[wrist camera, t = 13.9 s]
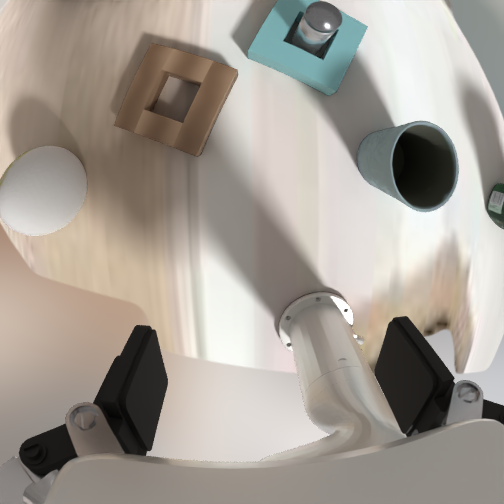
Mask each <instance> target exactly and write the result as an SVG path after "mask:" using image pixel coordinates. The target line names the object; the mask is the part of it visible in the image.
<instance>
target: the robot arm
mask: <svg viewBox="0 0 504 504" xmlns="http://www.w3.org/2000/svg"><path fill="white" fill-rule="evenodd" d="M317 297H318V298H317ZM352 326H353V313H352V311H351V308H350V307H349V305H348V304H347V302H346V301H345V300H344V299H342V298H341V297H340V296H338V295H335V294H333V293H327V292H317V293H311V294H308V295H305V296H303V297H301V298H299V299H297V300H296V301H294V302H293V303H292V304H290V306H289V307H288V308H287V309H286V310H285V311H284V313H283V314H282V317H281V319H280V322H279V335H280V339H281V341H282V343H283V345H284V346H285V347H286V348H287V349H288V350H289V351H291V352H293V355H294V360H295V364H296V369H297V373H298V378H299V383H300V387H301V392H302V397H303V402H304V406H305V410H306V413H307V415H308V417H309V419H310V420H311V421H312V422H313V424H315V425H316V426H317V427H318V428H320V429H321V430H323V431H325V432H326V433H328V434H330V435H329V436H327V437H325V438H322V439H320V440H318V441H315V442H312V443H309V444H307V445H303V446H300V447H297V448H294V449H290V450H287V451H284V452H281V453H277V454H274V455H271V456H268V457H266V458H264V459H262V460H260V461H259V462H212V461H194V460H180V459H169V458H160V457H151V456H146V453H147V451H151V449H152V446H153V441H154V437H155V433H156V429H157V424H158V421H159V417H160V413H161V409H162V405H163V401H164V397H165V393H166V390H167V385H168V378H167V374H166V371H165V367H164V363H163V359H162V355H161V351H160V346H159V342H158V338H157V333H156V331H155V330H152V328H151V326H144V325H136V326H135V327H134V330H133V331H132V333H131V335H130V337H129V339H128V341H127V343H126V345H125V347H124V349H123V351H122V353H121V355H120V356H117V357H116V358H115V359H114V361H113V363H112V365H111V367H110V369H109V371H108V373H107V375H106V377H105V379H104V381H103V383H102V385H101V387H100V390H99V392H98V394H97V396H96V398H95V400H94V402H93V403H89V402H83V403H79V404H76V405H74V406H73V407H72V408H70V409H69V411H68V412H67V414H66V418H65V422H66V424H63V425H61V426H59V427H56V428H54V429H52V430H49V431H47V432H44V433H42V434H39V435H37V436H34V437H32V438H30V439H27V440H26V441H25V442H24V443H23V444H22V445H21V447H20V451H19V457H18V458H16V457H15V456H14V457H12V458H11V459H9V460H8V461H7V462H6V463H4V464H3V465H1V466H0V504H504V406H503V405H500V404H497V403H493V402H491V401H487V400H484V399H483V392H482V390H481V388H480V387H479V386H478V385H477V384H476V383H474V382H472V381H468V380H463V381H459V382H457V383H456V384H455V383H454V382H453V380H454V377H453V375H452V374H451V372H450V371H449V370H448V368H447V367H446V366H445V364H444V363H443V362H442V360H441V359H440V358H439V356H438V355H437V354H436V352H435V351H434V350H433V348H432V347H431V346H430V345H429V343H428V342H427V341H426V340H425V338H424V337H423V335H422V334H421V333H420V332H419V330H418V329H417V328H416V327H415V325H414V324H413V323H412V322H411V320H410V319H409V318H408V317H407V316H403V317H395V318H393V320H392V321H391V322H389V324H388V328H387V331H386V335H385V338H384V342H383V345H382V348H381V351H380V355H379V358H378V361H377V364H376V367H375V376H374V374H373V372H372V370H371V368H370V366H369V364H368V362H367V360H366V358H365V356H364V354H363V352H362V349H361V348H360V346H359V345H362V344H363V343H364V338H363V337H361V336H357V335H355V333H354V331H353V329H352ZM375 377H376V378H375ZM376 379H377V380H376ZM377 381H378V382H377ZM378 383H379V384H378ZM379 385H380V386H379ZM380 387H381V388H380ZM381 389H382V390H381ZM382 391H383V392H382ZM383 393H384V394H383ZM384 395H385V396H384ZM385 397H386V398H385Z"/></svg>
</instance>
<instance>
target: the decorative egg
mask: <svg viewBox="0 0 504 504" xmlns="http://www.w3.org/2000/svg"><path fill="white" fill-rule="evenodd" d="M86 192H87V177H86V173H85V170H84V167H83V165H82V163H81V162H80V160H79V159H78V158H77V157H76V156H75V155H74V154H73V153H72V152H70V151H68V150H67V149H64V148H62V147H57V146H41V147H37V148H34V149H31V150H29V151H27V152H25V153H23V154H22V155H20V156H19V157H18V158H17V159H15V160H14V161H13V162H12V163H11V164H10V165H9V167H8V168H7V169H6V171H5V172H4V174H3V175H2V177H1V179H0V218H1V219H2V221H3V222H4V223H5V224H6V225H7V226H8V227H9V228H11V229H12V230H14V231H16V232H18V233H21V234H24V235H30V236H40V235H46V234H50V233H53V232H55V231H57V230H59V229H61V228H63V227H64V226H66V225H67V224H68V223H69V222H71V221H72V220H73V219H74V217H75V216H76V215H77V214H78V212H79V211H80V209H81V207H82V205H83V203H84V200H85V197H86Z"/></svg>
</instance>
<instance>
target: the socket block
mask: <svg viewBox="0 0 504 504" xmlns="http://www.w3.org/2000/svg"><path fill="white" fill-rule="evenodd" d="M318 1H319V0H278V1H277V2H276V4H275V6H274V7H273V9H272V10H271V12H270V14H269V15H268V17H267V18H266V20H265V22H264V23H263V25H262V27H261V28H260V30H259V32H258V34H257V35H256V37H255V39H254V41H253V42H252V44H251V46H250V48H249V49H248V59H251V60H253V61H256V62H258V63H261V64H263V65H266V66H268V67H270V68H273V69H275V70H277V71H279V72H282V73H284V74H286V75H288V76H290V77H292V78H294V79H297V80H299V81H301V82H303V83H305V84H307V85H309V86H311V87H313V88H315V89H316V90H318V91H320V92H322V93H324V94H326V95H328V96H330V95H332V94H333V93H335V92H337V90H338V88H339V85H340V83H341V81H342V79H343V77H344V75H345V73H346V71H347V69H348V67H349V65H350V63H351V61H352V59H353V57H354V54H355V52H356V50H357V48H358V46H359V44H360V42H361V40H362V38H363V36H364V34H365V32H366V29H367V27H368V26H366V25H364V24H363V23H361V22H359V21H357V20H356V19H354V18H352V17H350V16H349V15H347V14H345V13H343V12H341V11H340V13H341V15H342V24H341V25H340V26H339V28H338V29H337V30H336V31H335V32H334V33H333V34H332V36H331V38H332V39H331V40H330V42H329V44H328V46H327V48H326V50H325V52H324V54H323V56H322V58H321V59H320V58H318V57H316V56H314V55H312V54H310V53H308V52H306V51H304V50H302V49H300V48H298V47H296V46H293V45H291V44H289V43H287V42H284V40H285V38H286V36H287V35H288V33H289V31H290V29H291V28H292V26H293V24H294V22H295V21H298V22H300V21H301V19H302V17H303V15H304V13H305V11H306V9H307V7H308V6H309V5H310V4H311V3H313V2H318Z"/></svg>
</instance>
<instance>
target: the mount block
mask: <svg viewBox="0 0 504 504" xmlns="http://www.w3.org/2000/svg"><path fill="white" fill-rule="evenodd" d="M168 76H171V77H175V78H178V79H181V80H184V81H187V82H190V83H193V84H196V85H199V86H200V88H199V90H198V92H197V94H196V96H195V98H194V100H193V102H192V104H191V107H190V109H189V111H188V113H187V115H186V117H185V120H184V122H183V123H181V122H179V121H176V120H173V119H170V118H168V117H165V116H162V115H159V114H156V113H153V112H152V111H153V109H154V106H155V104H156V102H157V100H158V97H159V95H160V93H161V91H162V89H163V87H164V85H165V83H166V80H167V78H168ZM237 77H238V70H237V69H234V68H232V67H229V66H226V65H224V64H221V63H218V62H215V61H212V60H209V59H206V58H203V57H200V56H197V55H194V54H191V53H187V52H184V51H180V50H177V49H173V48H170V47H166V46H162V45H158V44H154V43H152V44H151V45H150V47H149V49H148V51H147V53H146V55H145V57H144V59H143V61H142V63H141V65H140V67H139V69H138V71H137V73H136V75H135V77H134V79H133V81H132V83H131V85H130V88H129V90H128V92H127V94H126V97H125V99H124V101H123V104H122V106H121V109H120V111H119V113H118V116H117V118H116V121H115V124H114V126H116V127H119V128H122V129H125V130H128V131H131V132H133V133H136V134H139V135H142V136H145V137H147V138H150V139H153V140H156V141H158V142H161V143H164V144H166V145H169V146H171V147H174V148H177V149H179V150H182V151H184V152H187V153H189V154H192V155H194V156H199V155H201V153H202V150H203V148H204V146H205V144H206V141H207V139H208V137H209V135H210V133H211V130H212V128H213V126H214V124H215V122H216V120H217V118H218V115H219V113H220V111H221V109H222V107H223V105H224V103H225V101H226V99H227V97H228V95H229V93H230V91H231V89H232V87H233V85H234V83H235V81H236V79H237Z"/></svg>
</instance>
